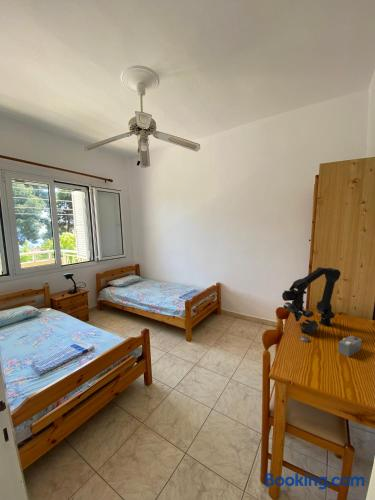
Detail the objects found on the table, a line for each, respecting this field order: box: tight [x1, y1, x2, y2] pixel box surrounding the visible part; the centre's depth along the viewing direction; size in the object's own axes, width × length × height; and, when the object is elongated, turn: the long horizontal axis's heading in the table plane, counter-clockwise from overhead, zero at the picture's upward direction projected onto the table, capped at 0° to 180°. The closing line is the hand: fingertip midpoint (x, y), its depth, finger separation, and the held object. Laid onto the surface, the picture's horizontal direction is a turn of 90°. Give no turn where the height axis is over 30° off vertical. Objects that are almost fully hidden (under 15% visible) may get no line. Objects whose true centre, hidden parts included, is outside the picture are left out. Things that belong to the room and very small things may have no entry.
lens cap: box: [299, 335, 311, 343], centre depth 125 cm, size 5×5×1 cm
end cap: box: [300, 319, 319, 336], centre depth 133 cm, size 10×7×7 cm
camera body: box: [337, 335, 362, 358], centre depth 114 cm, size 13×6×7 cm, turn 118°
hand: (297, 321), depth 141 cm, fingers closed
